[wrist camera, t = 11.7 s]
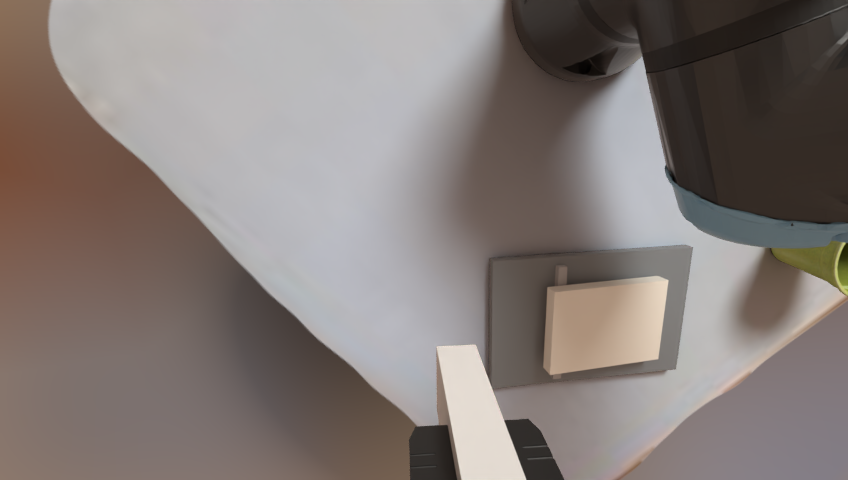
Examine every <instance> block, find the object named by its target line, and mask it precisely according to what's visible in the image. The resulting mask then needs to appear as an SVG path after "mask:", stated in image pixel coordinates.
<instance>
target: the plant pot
mask: <svg viewBox="0 0 848 480" xmlns="http://www.w3.org/2000/svg"><path fill="white" fill-rule="evenodd" d="M771 250H772V253H773V255H774V256H775V257H776V258H777V259H778V260H780V261H782V262H784V263H787V264H789V265H791V266H794V267H796V268H798V269H800V270H803V271H805V272H807V273H809V274H812V275H814V276H816V277H818V278H821V279H823V280H825V281H827V282H829V283H830V284H831V285H833V286H834V287H836V288H838V289H839V291H840V292H842V293H843V294H844V295H846V296H848V243H844V242H838V241H831V242H830V243H829V245H827V246H825V247H814V248H771Z"/></svg>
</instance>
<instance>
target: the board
mask: <svg viewBox="0 0 848 480" xmlns="http://www.w3.org/2000/svg"><path fill="white" fill-rule="evenodd" d="M692 250H693V247H690V246H687V245H676V246H661V247H646V248H632V249H617V250H602V251H588V252H573V253H558V254H544V255H529V256H514V257H500V258H490V283H489V382H490V384H491V387H492V389H494V388H503V387H512V386H522V385H531V384H541V383H550V382H560V381H569V380H579V379H588V378H598V377H607V376H617V375H626V374H636V373H645V372H655V371H664V370H673V369H676V365H677V358H678V350H679V343H680V336H681V329H682V322H683V315H684V307H685V300H686V293H687V286H688V279H689V272H690V264H691V257H692ZM650 276H660V277H662V278H665V279H667V280H669V281H668V288H667V296H666V304H665V311H664V319H663V327H662V334H661V342H660V349H659V357H658V359H656V360H649V361H643V362H636V363H629V364H622V365H615V366H608V367H602V368H595V369H588V370H581V371H574V372H567V373H561V374H554V375H550V374H549V373H548V372H547V371H546V370H545V369H544V368H543V363H544V344H545V324H546V305H547V287H553V286H563V285H572V284H582V283H592V282H601V281H611V280H621V279H631V278H640V277H650Z"/></svg>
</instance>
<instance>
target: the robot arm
mask: <svg viewBox="0 0 848 480" xmlns="http://www.w3.org/2000/svg"><path fill="white" fill-rule="evenodd" d="M512 8H513V17H514V23H515V27H516V30H517V33H518V36H519V38H520V41H521V43H522V45H523V46H524V48H525V50H526V51H527V53H528V54H529V56H530V57H531V58H532V59H533V60H534V62H535V63H536V64H537V65H539V66H540V67H541V68H542V69H543V70H545V71H546V72H548V73H550V74H551V75H553V76H556V77H558V78H561V79H564V80H568V81H575V82H585V81H592V80H596V79H600V78H604V77H607V76H610V75H613V74H616V73H618V72H620V71H622V70H624V69H625V68H627V67H629V66H630V65H632V64H633V63H634V62H636V61H637V60H638V59H639V58H640V57H641V56H643V60H644V65H645V69H646V75H647V80H648V84H649V89H650V93H651V98H652V102H653V107H654V111H655V116H656V121H657V125H658V130H659V134H660V139H661V143H662V148H663V153H664V157H665V162H666V166H665V173H666V176H667V178H668V180H669V182H670V183H671V184H672V186H673V189H674V193H675V196H676V200H677V203H678V206H679V209H680V211H681V213H682V215H683V216H684V217H685V218H686V220H688V221H689V222H691V223H693V225H694V226H696V227H697V228H698V229H699V230H701V231H703V232H705V233H707V234H709V235H712V236H714V237H717V238H720V239H723V240H726V241H730V242H734V243H739V244H744V245H750V246H758V247H768V248H814V247H825V246H827V245H829V243H830V242H831V241H838V242H844V243H848V0H512ZM437 412H438V419H439V425H437V426H420V427H415V429H414V431H413V433H412V435H411V437H410V439H409V448H410V480H564V478H563V476H562V474H561V472H560V470H559V468H558V466H557V464H556V462H555V460H554V459H553V456H552V454H551V452H550V449H549V447H547V443H546V441H545V439H544V437H543V435H542V433H541V431H540V430H539V429H538V428H537V427H536V426H535V425H534V424H533V423H532V422H531V421H530V420H529V419H520V420H504V419H503V416H502V414H501V411H500V408H499V406H498V403H497V400H496V398H495V395H494V392H493V390H492V387H491V384H490V382H489V379H488V376H487V374H486V371H485V368H484V366H483V363H482V360H481V358H480V355H479V352H478V350H477V347H476V345H456V346H437Z"/></svg>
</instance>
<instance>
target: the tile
mask: <svg viewBox="0 0 848 480" xmlns="http://www.w3.org/2000/svg"><path fill="white" fill-rule="evenodd" d="M668 281H669V280H667V279H665V278H662V277H660V276H650V277H640V278H631V279H621V280H611V281H601V282H592V283H582V284H572V285H563V286H553V287H547V305H546V324H545V344H544V363H543V368H544V369H545V370H546V371H547V372H548V373H549V374H550V375H554V374H561V373H567V372H574V371H581V370H588V369H595V368H602V367H608V366H615V365H622V364H629V363H636V362H643V361H649V360H656V359H658V357H659V349H660V342H661V334H662V327H663V319H664V311H665V304H666V296H667V288H668Z"/></svg>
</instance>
